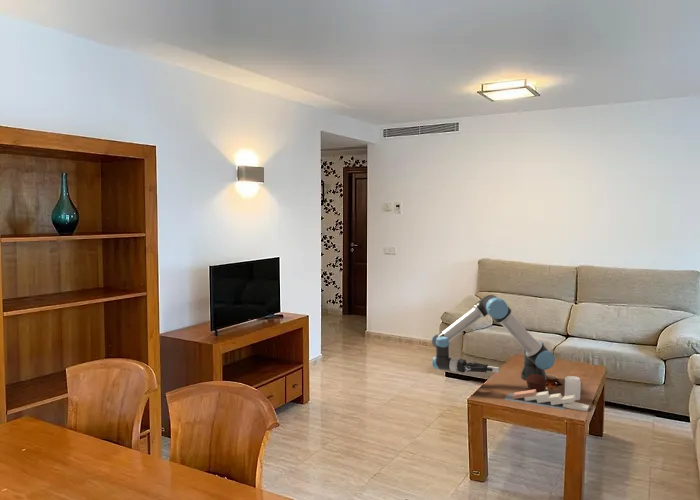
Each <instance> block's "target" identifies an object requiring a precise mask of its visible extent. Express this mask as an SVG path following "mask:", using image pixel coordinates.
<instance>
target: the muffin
mask: <svg viewBox="0 0 700 500" xmlns="http://www.w3.org/2000/svg"><path fill="white" fill-rule="evenodd" d="M525 381H526V385H527V390H534V389H536V392H537V393H539V392H545V391H546V388H547V383H548V380H547V378H546V379H545V377H543V376H542V375H539V374H532V375H529V376H528V377H527V378H526V380H525Z"/></svg>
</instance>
